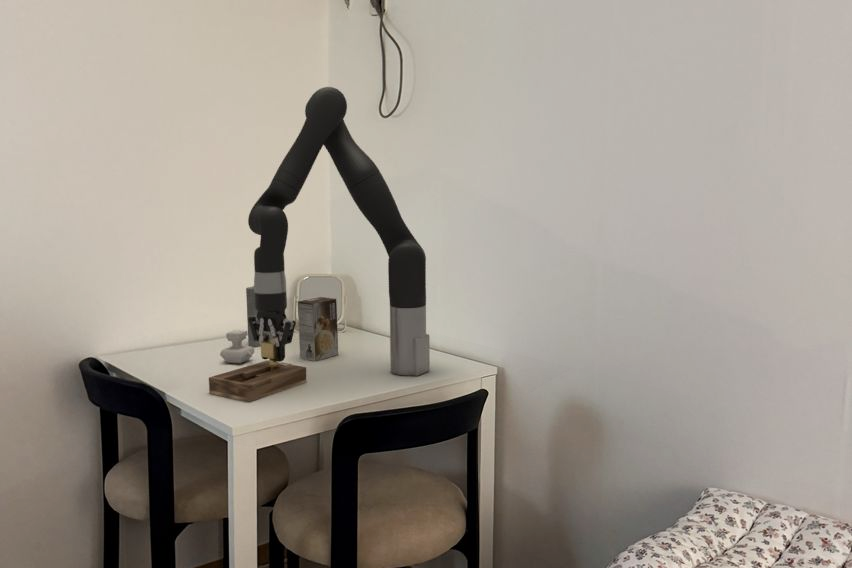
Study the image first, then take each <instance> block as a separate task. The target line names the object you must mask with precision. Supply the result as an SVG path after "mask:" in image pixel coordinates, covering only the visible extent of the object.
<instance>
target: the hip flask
mask: <svg viewBox="0 0 852 568" xmlns="http://www.w3.org/2000/svg"><path fill="white" fill-rule="evenodd" d="M245 290H246V291H245V293H246V294H245V295H246V296H245V297H246V315H247V317H246V318H247V340H248V342H247V343H248V345H247V346H250V347H253V348H254V349H255V348H261V344H260V343H259V342H258V341H255V340H254V339H253V335H252V332H251V328H250V324H249V321H248V318H249V317H252V316H257V312H258V311H257V310H256V309H255V294H254V286H248V287H246V288H245ZM256 331H257V330H256ZM279 332H280V331H279ZM279 332H277V333H279ZM257 335H259V334H258V331H257ZM271 339H274V338H273V337H272V334H271V335H270V340H271ZM279 340H280V336H279Z"/></svg>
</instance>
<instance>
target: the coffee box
mask: <svg viewBox="0 0 852 568" xmlns="http://www.w3.org/2000/svg"><path fill="white" fill-rule="evenodd" d="M337 303H338V302H337V298H331V297H322V296H320V297H314V298H309V299H308V298H307V299H303V300H299V301H297V312H298V313H297V314H298V315H297V316H298V335H299V336H298V337H299V338H298V339H299V341H298V342H299V358H300V359H303V360H309V361H313V362H319V361H321V360H324V359H328V358H331V357H334V356H338V355H339V337H338V331H339V330H338V308H337Z"/></svg>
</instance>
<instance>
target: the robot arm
mask: <svg viewBox="0 0 852 568" xmlns="http://www.w3.org/2000/svg"><path fill="white" fill-rule="evenodd" d="M304 109H305V110H304V114H305V121H304V123H303V124H302V125H303V126H302V128H301V129H300V132H299V133H298V136H297V137H296V139H295V141H294V142H293V144H292V145H291V147H290V148H289V150H288V151H287V153H286V155H285V156H284V158H283V160H281V163H280V165H279V167H278V168H277V170H276V172H275V174H274V176H273V178H272V180H271V182H270V184H269V185H268V187H267V188H266V190H265V191H264V192H263V193H262V194H261V195H260V196H259V198H257V200H256V202H255V203H254V205H253V206H252V207H251V209H250V212H249V215H248V218H247V219H248V220H247V221H248V222H247V223H248V227H249V229H250V231H252V233H254V234H255V235H258V236H260V239H259V240H260V242H259V246H258V247H256V249H255V250H254V254H253V260H254V261H253V263H254V264H253V266H254V277H253V278H254V279H253V287H254V294H255V309H256V310H257V311H258V312H257V316H252V317H249V318H248V321H249V324H250V328H251V332H252V335H253V339H254V340H255V341H258V342H259V343H260V344H261V342H264V341H267V340H270V335H271V334H272V337H273V338H274V340H275V345H276V346H277V347H276V361H277V362H283V361H284V360H285V358H286V345H289V344H292V340H293V337H294V333H295V329H296V323H297V322H296V320H290V319H288V317H287V315H286V309H287V306H288V298H287V279H286V273H285V270H286V269H285V268H286V267H285V249H286V245H287V240H288V239H287V238H288V233H289V221H288V218H287V215H286V213H285V211H284V210H285V208H286V207H287V206H288V205H291V204H293V203H294V202H295V201H296V200H297V198H298V196H299V194H300V192H301V190H302V189H303V187H304V185H305V182H306V180H307V178H308V176H309V175H310V172H311V171H312V168H313V166H314V164H315V162H316V160H317V157H318V156H319V154H320V151H321V150H322V148H323V146H324V148H325V149H326V150H327V152H328V154H329V156H330V158H331V159H332V162H333V164H334V166H335V168H336V170H337V171H338V173H339V175H340V177H341V180H342V181H343V183H344V185H345V187H346V189H347V190H348V192H349V193H348V194H349V195H350V196H351V198H352V200H353V202H354V203H355V205H356V206H357V208H358V209H359V211H360V212H361V213H362V215H363V216H364V217H365V219H366V220H367V221H368V222H369V224H370V225H371V226H372V228H373V229H374V230H375V231H376V233H377V235H378V236H379V238H380V240H381V242H382V244H383V247H384V249H385V251H386V253H387V256H388V263H387V265H388V266H387V267H388V271H387V272H388V274H387V275H388V297H389V298H388V299H389V352H390V353H389V356H390V357H389V358H390V359H389V361H390V373H391V374H395V375H398V376H415V377H418V376H420V375H422V374H424V373H427V372H430V370H431V368H430V366H431V365H430V363H431V361H430V359H431V357H430V354H431V353H430V349H431V348H430V334H428V333H427V288H426V287H427V283H426V282H427V281H426V280H427V276H426V275H427V274H426V273H427V270H426V267H427V262H426V261H427V257H426V253H425V251H424V250H425V249H423V247H422V245H420V243H419V242H418V241H417V239H416V238H415V236H414V235H413V234H412V231H410V228H409V227H408V226H407V225H406V223H405V221H404V219H403V218H402V215H401V213H400V210H399V207H398V205H397V203H396V200H395V199H394V197H393V196H394V195H393V194H392V192H391V189H390V188H389V186H388V183H387V182H386V179H385V178H384V176H383V175H382V172H381V171H380V169H379V167H378V166H377V165H376V164H375V162H374V161H373V160H372V159H371V157H370V156H369V155H368V154H367V153H366V152H365V151H364V150H363V149H362V148H361V147H360V146H359V145H358V144H357V143H356V141H355V140H354V138H353V136H352V135H351V133H350V131H349V129H348V127H347V125H346V122H345V120H344V118H345V116H346V114H347V110H348V103H347V99H346V97H345V95H344V93H343V92H342V91H340V89H338V88H335V87H333V86H325V87H324V86H323V87H322V88H321V87H320V88H319V89H318V90H316V91H315V92H314V93H313V94H311V96H310V98H309V99H308V101H307V103H306V105H305V108H304ZM256 330H257V331H258V334H259V335H257V331H256ZM279 331H280V332H279ZM277 332H279V333H277ZM279 336H280V340H281V341H280V340H279ZM261 358H262V359H263V360H268V359H269V358H267V357H261Z"/></svg>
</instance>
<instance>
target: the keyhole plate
mask: <svg viewBox="0 0 852 568" xmlns="http://www.w3.org/2000/svg"><path fill="white" fill-rule="evenodd" d="M306 383H307V367H306V366H302V365H301V366H300V365H296V364H291V363H290V362H289V363H288V362H283V361H280V362H277V369H275V370H271V371H270V362H269V360H268V359H265V360H263V361H260V362H257V363H254V364H251V365H246V366H243V367H239V368H236V369H233V370H230V371H227V372H223V373H220V374H216V375H213V376H210V377H208V390H209V391H208V393H209V394H210V395H211V394H212V395H216V396H220V397H224V398H228V399H233V400H236V401H237V400H238V401H243V402H246V403H251V402H254V401H257V400H261V399H262V398H266V397H268V396H271V395H274V394H277V393H281V392H282V391H286V390H289V389H291V388H294V387H297V386H300V385H304V384H306Z"/></svg>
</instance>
